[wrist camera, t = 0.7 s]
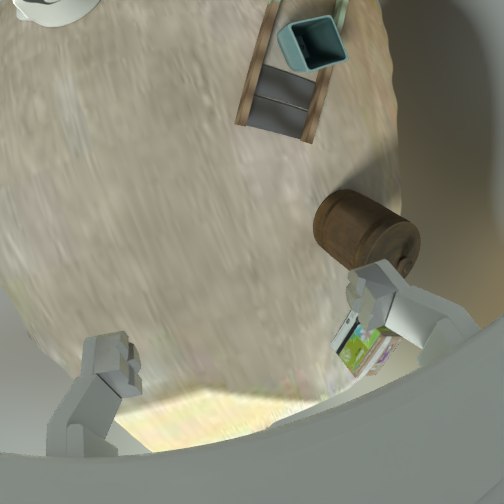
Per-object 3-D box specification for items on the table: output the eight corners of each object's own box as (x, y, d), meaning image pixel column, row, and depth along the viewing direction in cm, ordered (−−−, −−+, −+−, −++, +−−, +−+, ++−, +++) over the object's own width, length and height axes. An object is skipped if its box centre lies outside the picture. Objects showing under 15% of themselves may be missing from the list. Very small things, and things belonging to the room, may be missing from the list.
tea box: (352, 303, 80) (385, 336, 68) (374, 306, 85) (405, 335, 73) (328, 345, 85) (355, 379, 73) (351, 344, 90) (377, 375, 78)
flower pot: (304, 23, 43) (331, 13, 36) (321, 63, 48) (349, 60, 41) (264, 34, 42) (287, 23, 35) (282, 76, 47) (308, 73, 40)
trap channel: (305, 142, 55) (316, 145, 51) (234, 123, 49) (241, 125, 45) (344, -9, 41) (356, -14, 38) (281, -39, 35) (291, -46, 32)
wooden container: (325, 262, 70) (385, 317, 51) (302, 213, 62) (370, 264, 43) (372, 227, 70) (437, 270, 52) (355, 176, 62) (432, 212, 44)
